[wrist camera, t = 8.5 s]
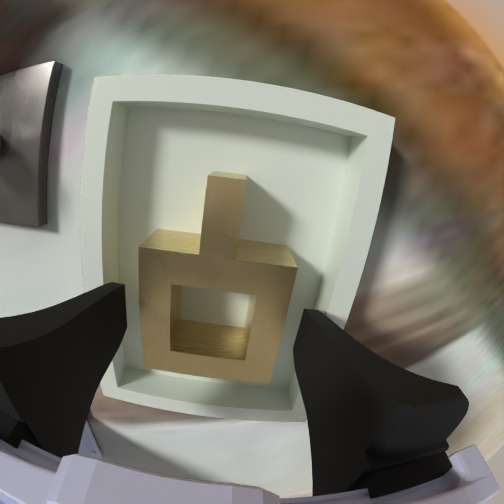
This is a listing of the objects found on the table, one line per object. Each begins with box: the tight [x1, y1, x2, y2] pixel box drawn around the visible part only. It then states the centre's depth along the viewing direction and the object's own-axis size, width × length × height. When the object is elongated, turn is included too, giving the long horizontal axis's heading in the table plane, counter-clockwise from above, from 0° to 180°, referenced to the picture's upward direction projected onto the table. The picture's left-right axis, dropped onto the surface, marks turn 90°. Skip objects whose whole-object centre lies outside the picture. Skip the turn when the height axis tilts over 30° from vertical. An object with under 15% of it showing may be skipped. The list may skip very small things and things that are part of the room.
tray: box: [80, 74, 395, 422], centre depth 12 cm, size 15×11×2 cm
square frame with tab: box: [138, 171, 298, 383], centre depth 11 cm, size 8×5×2 cm
